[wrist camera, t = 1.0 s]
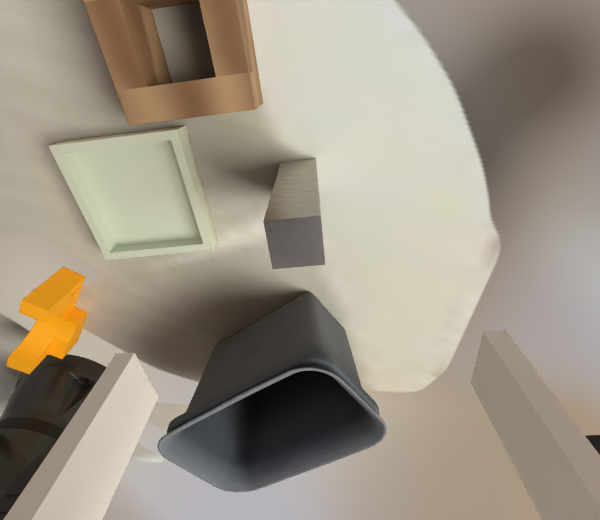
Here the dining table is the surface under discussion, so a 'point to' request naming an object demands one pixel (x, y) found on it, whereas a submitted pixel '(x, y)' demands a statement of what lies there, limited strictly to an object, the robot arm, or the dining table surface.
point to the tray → (139, 192)
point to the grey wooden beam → (295, 217)
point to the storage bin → (275, 403)
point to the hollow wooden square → (153, 68)
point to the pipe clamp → (50, 320)
